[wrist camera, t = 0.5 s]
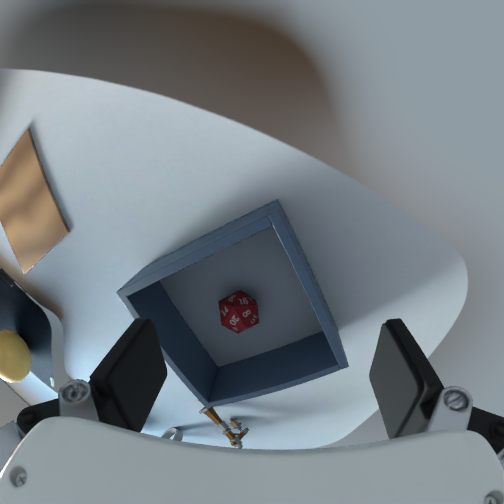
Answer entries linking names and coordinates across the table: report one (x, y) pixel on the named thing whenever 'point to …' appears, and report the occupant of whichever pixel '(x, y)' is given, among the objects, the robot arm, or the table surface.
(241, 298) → the dice
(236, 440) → the wooden post with brackets
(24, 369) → the stress ball
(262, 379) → the tote
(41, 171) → the cork mat
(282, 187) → the table surface
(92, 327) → the table surface
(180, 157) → the table surface
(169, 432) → the wristwatch
